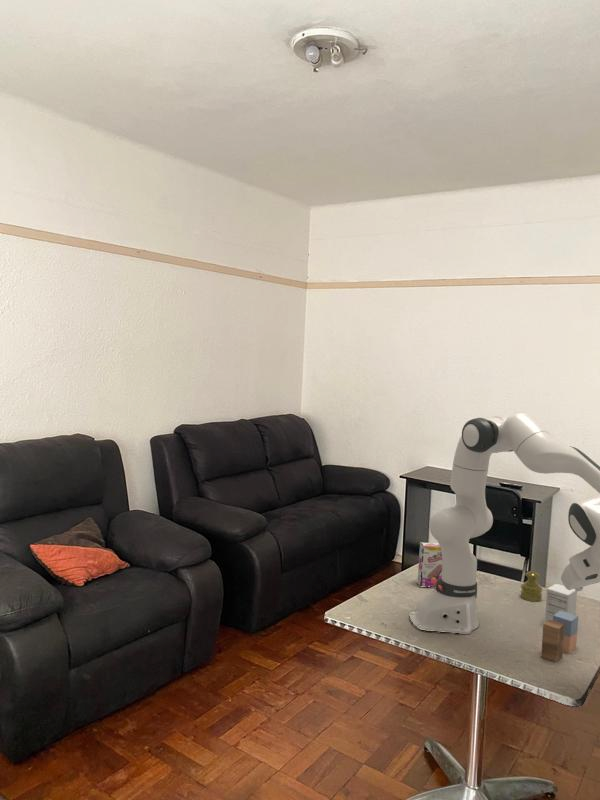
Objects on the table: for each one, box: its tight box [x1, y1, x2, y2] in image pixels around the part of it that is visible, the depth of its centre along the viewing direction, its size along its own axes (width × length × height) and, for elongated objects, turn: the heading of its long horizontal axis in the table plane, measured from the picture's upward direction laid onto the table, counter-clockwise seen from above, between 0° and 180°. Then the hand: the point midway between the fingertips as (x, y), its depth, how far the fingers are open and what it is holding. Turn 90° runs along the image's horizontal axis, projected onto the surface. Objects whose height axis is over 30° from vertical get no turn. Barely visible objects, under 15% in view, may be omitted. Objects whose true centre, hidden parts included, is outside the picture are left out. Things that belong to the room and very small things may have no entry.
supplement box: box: [544, 583, 578, 623], centre depth 210 cm, size 7×7×13 cm
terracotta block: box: [563, 631, 578, 654], centre depth 195 cm, size 6×6×5 cm
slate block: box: [553, 611, 579, 637], centre depth 194 cm, size 6×6×5 cm
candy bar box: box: [417, 542, 442, 587], centre depth 243 cm, size 11×5×16 cm, turn 94°
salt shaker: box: [520, 570, 543, 602], centre depth 234 cm, size 7×7×10 cm
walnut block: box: [541, 620, 565, 663], centre depth 188 cm, size 4×4×10 cm
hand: (593, 584), depth 176 cm, fingers open, 8 cm apart
